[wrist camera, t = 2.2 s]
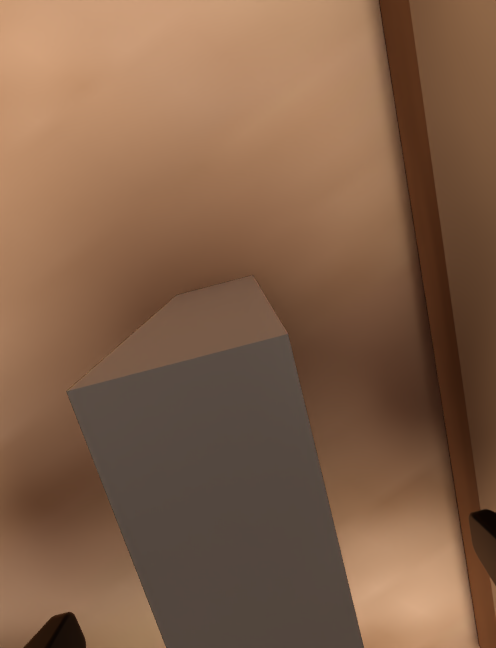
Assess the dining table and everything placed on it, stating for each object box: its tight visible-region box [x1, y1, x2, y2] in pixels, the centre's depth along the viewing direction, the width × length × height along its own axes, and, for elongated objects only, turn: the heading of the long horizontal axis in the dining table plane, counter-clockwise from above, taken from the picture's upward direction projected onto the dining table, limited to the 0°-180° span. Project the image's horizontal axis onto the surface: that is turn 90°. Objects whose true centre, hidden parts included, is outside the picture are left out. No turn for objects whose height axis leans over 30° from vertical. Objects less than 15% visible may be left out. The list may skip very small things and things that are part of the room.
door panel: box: [66, 275, 364, 648], centre depth 9 cm, size 2×12×8 cm, turn 15°
